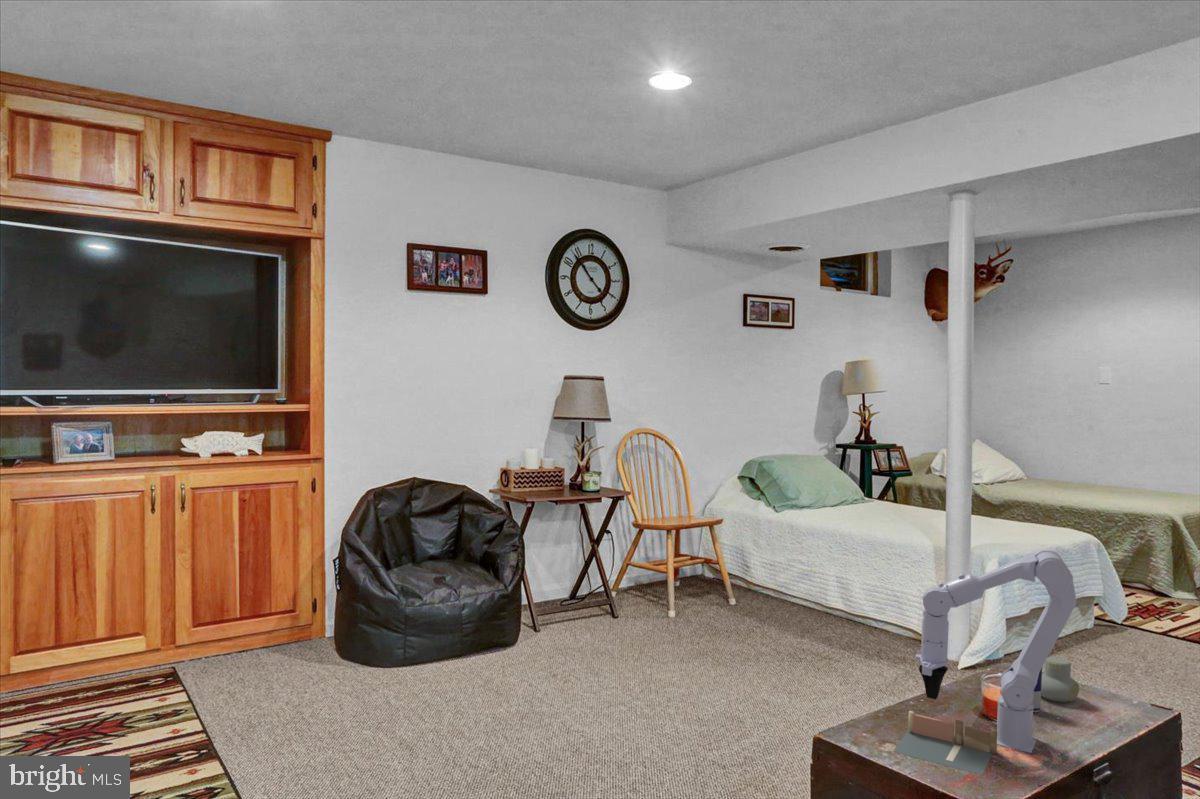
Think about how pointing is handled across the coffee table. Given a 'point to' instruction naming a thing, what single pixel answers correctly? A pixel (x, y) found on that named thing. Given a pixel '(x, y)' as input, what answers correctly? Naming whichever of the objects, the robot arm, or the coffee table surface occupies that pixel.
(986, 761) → the card
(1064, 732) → the coffee table surface
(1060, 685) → the grey l-shaped piece
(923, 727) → the fence panel
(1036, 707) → the energy drink
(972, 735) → the fence frame
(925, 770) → the coffee table surface
